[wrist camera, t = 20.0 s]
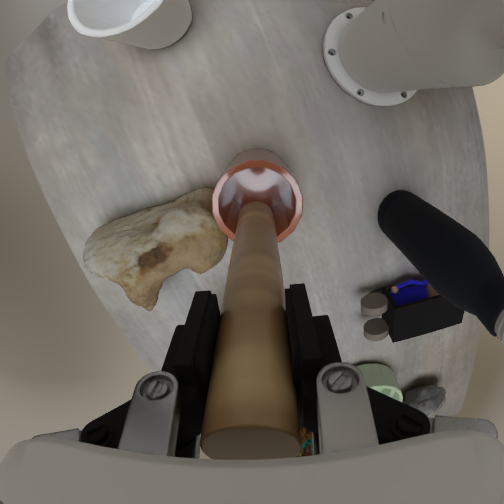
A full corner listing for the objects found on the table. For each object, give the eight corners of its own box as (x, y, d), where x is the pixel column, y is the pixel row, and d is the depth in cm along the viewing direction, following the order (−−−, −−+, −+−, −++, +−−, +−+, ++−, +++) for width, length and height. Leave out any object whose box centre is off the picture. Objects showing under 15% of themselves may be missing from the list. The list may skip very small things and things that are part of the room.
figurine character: (358, 316, 44) (446, 297, 40) (366, 351, 37) (464, 327, 34) (354, 280, 41) (449, 260, 38) (364, 313, 35) (470, 288, 31)
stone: (183, 144, 33) (155, 155, 24) (248, 218, 36) (244, 254, 27) (98, 230, 37) (59, 264, 28) (155, 290, 41) (132, 336, 32)
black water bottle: (418, 185, 34) (608, 327, 7) (421, 231, 36) (571, 395, 9) (374, 195, 35) (554, 376, 7) (380, 242, 37) (512, 439, 10)
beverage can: (303, 409, 52) (309, 462, 41) (326, 420, 54) (334, 469, 43) (277, 424, 54) (279, 474, 43) (300, 434, 56) (305, 481, 45)
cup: (215, 38, 27) (191, -1, 16) (136, 73, 29) (79, 59, 17) (188, -23, 24) (158, -74, 12) (114, 12, 25) (59, -19, 14)
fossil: (389, 408, 53) (399, 438, 46) (392, 384, 49) (404, 416, 42) (436, 392, 51) (448, 419, 44) (442, 366, 48) (458, 394, 40)
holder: (239, 138, 32) (232, 146, 23) (301, 165, 34) (317, 183, 24) (214, 197, 35) (199, 227, 26) (274, 222, 37) (279, 259, 27)
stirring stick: (246, 195, 22) (218, 414, 6) (279, 209, 23) (322, 436, 6) (233, 226, 23) (188, 457, 7) (265, 238, 24) (273, 474, 7)
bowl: (350, 352, 45) (359, 379, 40) (406, 367, 47) (417, 391, 42) (310, 400, 51) (313, 426, 45) (364, 410, 53) (371, 433, 47)
